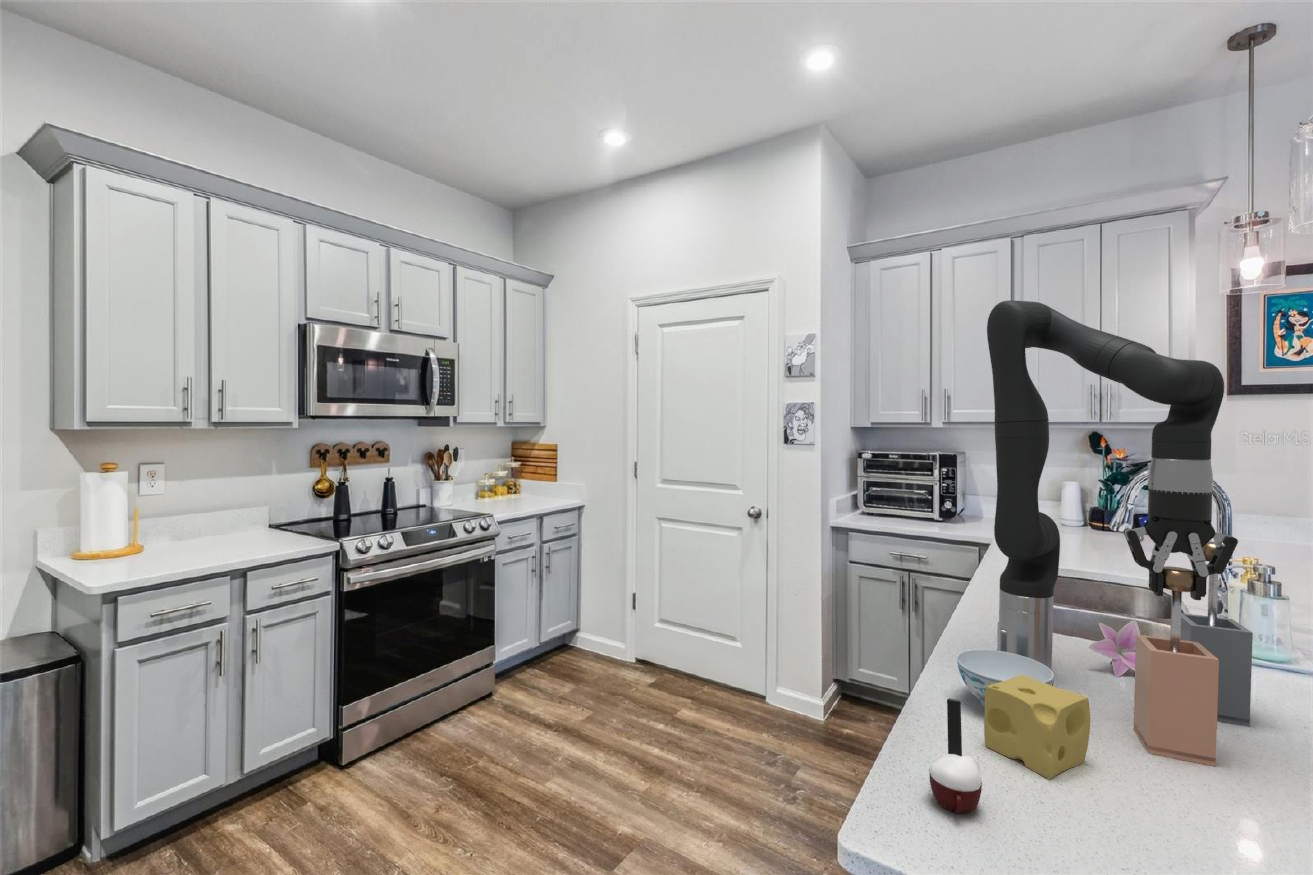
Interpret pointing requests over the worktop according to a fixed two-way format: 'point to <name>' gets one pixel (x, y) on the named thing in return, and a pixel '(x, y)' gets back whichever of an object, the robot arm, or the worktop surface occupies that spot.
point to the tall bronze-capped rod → (1211, 586)
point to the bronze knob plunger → (1177, 598)
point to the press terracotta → (1176, 699)
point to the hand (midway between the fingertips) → (1176, 596)
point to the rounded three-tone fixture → (956, 769)
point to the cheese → (1037, 724)
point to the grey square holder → (1226, 663)
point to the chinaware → (997, 669)
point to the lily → (1118, 646)
